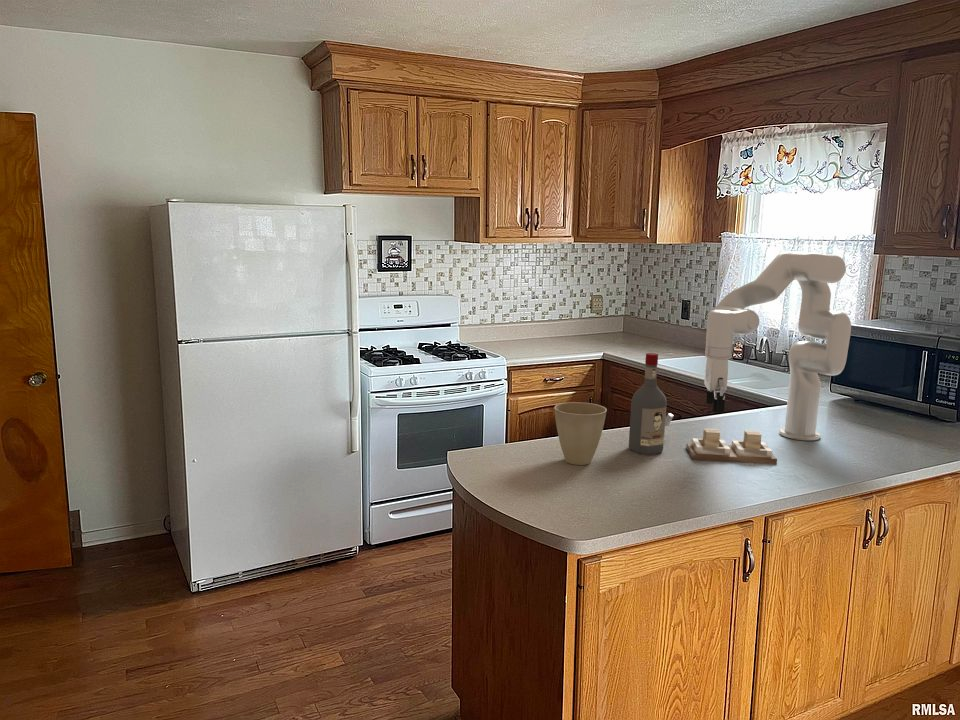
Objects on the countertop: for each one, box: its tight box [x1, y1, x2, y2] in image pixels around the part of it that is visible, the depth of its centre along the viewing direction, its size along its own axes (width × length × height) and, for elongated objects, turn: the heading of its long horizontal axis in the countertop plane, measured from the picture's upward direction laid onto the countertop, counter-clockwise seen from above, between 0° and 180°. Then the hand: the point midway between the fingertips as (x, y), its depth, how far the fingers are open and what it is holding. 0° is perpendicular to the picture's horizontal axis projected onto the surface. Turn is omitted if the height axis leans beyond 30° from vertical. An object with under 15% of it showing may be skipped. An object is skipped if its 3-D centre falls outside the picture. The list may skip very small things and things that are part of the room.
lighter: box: [664, 412, 674, 436], centre depth 247 cm, size 7×2×8 cm, turn 42°
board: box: [686, 430, 778, 465], centre depth 227 cm, size 12×24×8 cm, turn 84°
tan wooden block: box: [702, 428, 721, 447], centre depth 228 cm, size 4×4×6 cm
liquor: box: [628, 352, 667, 456], centre depth 229 cm, size 9×9×30 cm
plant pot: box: [554, 401, 608, 466], centre depth 218 cm, size 15×15×16 cm
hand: (714, 408), depth 226 cm, fingers open, 9 cm apart
